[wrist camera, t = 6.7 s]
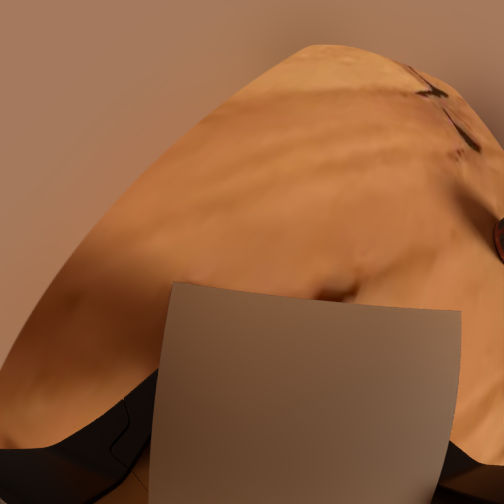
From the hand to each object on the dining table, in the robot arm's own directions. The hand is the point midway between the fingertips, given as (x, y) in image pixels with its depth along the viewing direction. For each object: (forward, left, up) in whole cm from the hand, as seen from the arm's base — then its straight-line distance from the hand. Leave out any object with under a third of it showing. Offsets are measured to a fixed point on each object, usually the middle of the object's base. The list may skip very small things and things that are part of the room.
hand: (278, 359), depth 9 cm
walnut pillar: (0, +1, -7) cm, 7 cm away
